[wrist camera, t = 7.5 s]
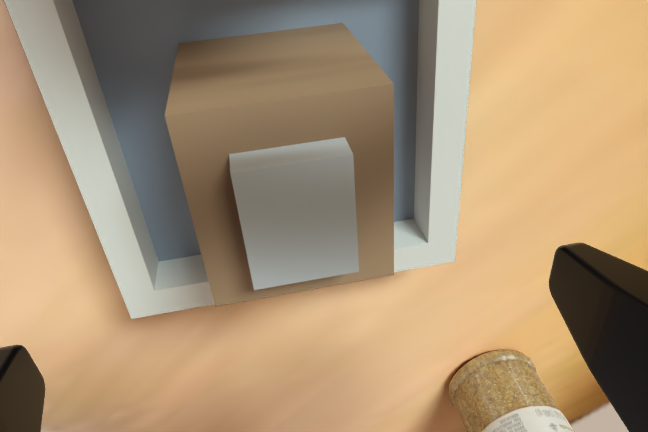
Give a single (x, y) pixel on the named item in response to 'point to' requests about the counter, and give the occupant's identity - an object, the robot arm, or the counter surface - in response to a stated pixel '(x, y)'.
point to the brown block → (285, 160)
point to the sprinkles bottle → (504, 396)
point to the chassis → (154, 139)
